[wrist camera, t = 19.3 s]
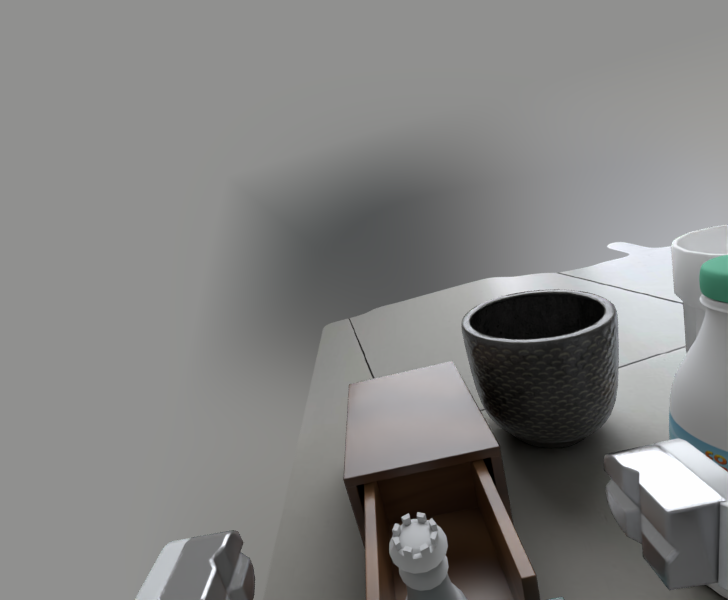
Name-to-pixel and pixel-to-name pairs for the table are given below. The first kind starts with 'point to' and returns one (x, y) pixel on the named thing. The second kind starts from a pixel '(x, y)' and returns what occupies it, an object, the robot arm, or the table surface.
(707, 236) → the cup
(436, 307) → the table surface
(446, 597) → the rook chess piece
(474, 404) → the cabinet
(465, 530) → the drawer
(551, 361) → the planter
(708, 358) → the milk bottle
